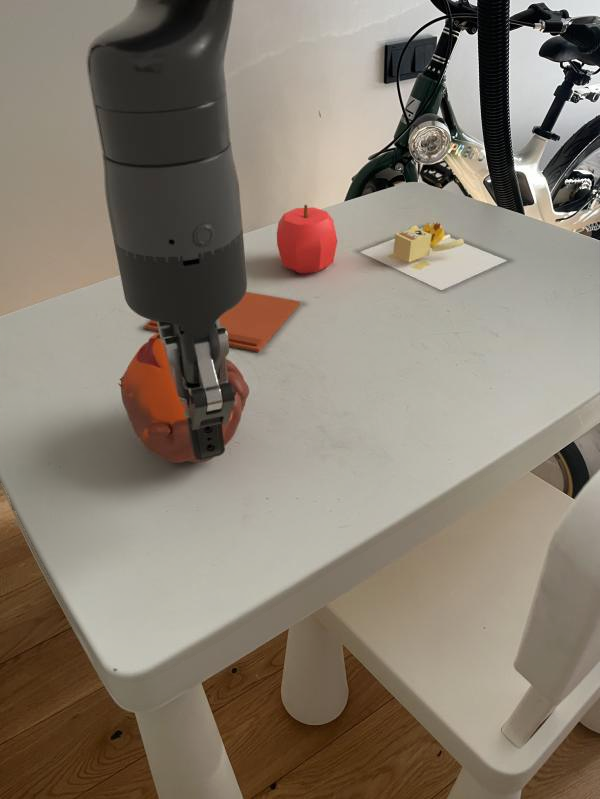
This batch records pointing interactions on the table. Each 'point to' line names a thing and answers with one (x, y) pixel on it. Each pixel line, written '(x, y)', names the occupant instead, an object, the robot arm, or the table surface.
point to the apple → (306, 239)
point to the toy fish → (168, 404)
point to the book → (252, 320)
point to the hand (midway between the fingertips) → (208, 451)
